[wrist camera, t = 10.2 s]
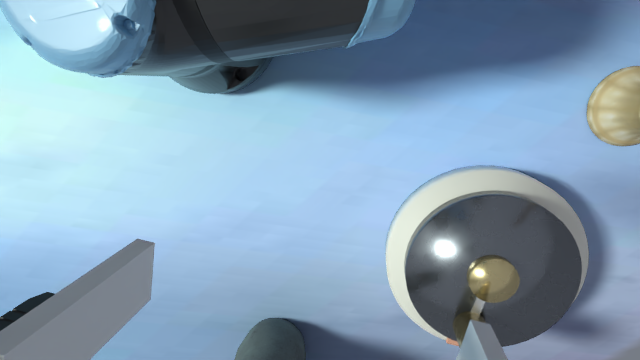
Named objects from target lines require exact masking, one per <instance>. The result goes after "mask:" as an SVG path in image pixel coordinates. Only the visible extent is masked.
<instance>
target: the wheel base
mask: <svg viewBox="0 0 640 360" xmlns="http://www.w3.org/2000/svg"><path fill="white" fill-rule="evenodd" d="M480 191H502V192H509V193H513V194H518V195H520V196H523V197H526V198H528V199H530V200H532V201H534V202H536V203H538V204H540V205H541V206H542V207H544V208H545V209H547V210H548V211H550V212H551V213H552V214H554V215H555V216H556V217H557V218H558V219H560V220H561V221H562V222H563V223H564V224H565V226H566V227H567V228H568V229H569V231H570V232H571V234H572V235H573V237H574V239H575V241H576V243H577V246H578V248H579V251H580V256H581V262H582V274H581V282H580V286H579V289H578V292H577V295H576V297H575V299H576V298H577V296H578V294H579V292H580V290H581V288H582V286H583V283H584V280H585V278H586V274H587V269H588V260H589V250H588V241H587V237H586V234H585V230H584V228H583V226H582V223H581V221H580V219H579V217H578V216H577V214H576V213H575V211H574V210H573V208H572V207H571V206H570V205H569V204H568V203H567V202H566V200H565V199H564V198H563V197H561V196H560V195H559V194H558V193H556V192H555V191H554V190H553V189H551V188H549V187H548V186H546V185H544V184H543V183H541V182H539V181H537V180H536V179H534V178H532V177H531V176H528V175H526V174H524V173H521V172H519V171H516V170H512V169H509V168H505V167H498V166H483V165H479V166H469V167H463V168H459V169H454V170H451V171H448V172H446V173H443V174H440V175H438V176H436V177H434V178H432V179H430V180H429V181H427V182H426V183H424V184H423V185H421V186H420V187H419V188H417V189H416V190H415V191H414V192H413V193H412V194H411V195H410V196H409V197H408V198H407V199H406V200H405V201H404V202H403V204H402V205H401V206H400V208H399V209H398V211H397V212H396V214H395V216H394V218H393V220H392V222H391V225H390V228H389V231H388V234H387V240H386V251H385V255H386V266H387V276H388V280H389V284H390V287H391V290H392V292H393V295H394V297H395V298H396V300H397V302H398V304H399V305H400V307H401V308H402V309H403V311H404V312H405V313H406V314H407V315H408V316H409V317H410V318H411V319H412V320H413V321H414V322H415V323H416V324H417V325H419V326H420V327H421V328H423V329H424V330H426V331H427V332H429V333H431V334H432V335H434V336H437V337H439V338H441V339H443V340H446V342H447V343H448V344H452V345H456V346H459V344H458V342H457V341H454V340H451V339H449V338H447V337H445V336H443V335H442V334H440V333H439V332H437V331H436V330H434V329H433V328H432V327H431V326H429V325H428V324H427V323H426V322H425V321H424V320H423V319H422V317H421V316H420V315H419V314H418V312H417V311H416V309H415V308H414V306H413V304H412V302H411V299H410V297H409V293H408V290H407V285H406V279H405V273H404V260H405V253H406V249H407V246H408V243H409V241H410V238H411V236H412V234H413V233H414V231H415V230H416V228H417V227H418V225H419V224H420V223H421V222H422V220H423V219H424V218H425V217H426V216H427V215H428V214H430V213H431V212H432V211H433V210H435V209H436V208H437V207H439V206H440V205H442V204H444V203H445V202H447V201H449V200H451V199H454V198H456V197H459V196H462V195H465V194H469V193H474V192H480ZM575 299H574V301H575ZM574 301H573V302H574ZM571 305H572V304H571Z"/></svg>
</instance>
